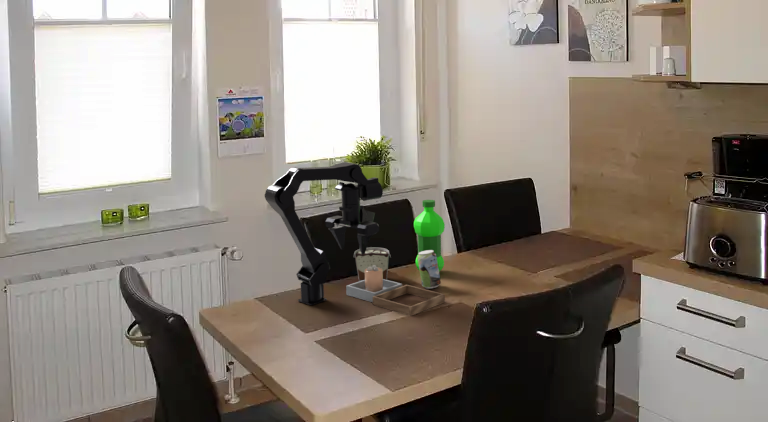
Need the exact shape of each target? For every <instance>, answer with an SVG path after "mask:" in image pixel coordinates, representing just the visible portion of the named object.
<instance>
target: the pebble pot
mask: <svg viewBox="0 0 768 422" xmlns="http://www.w3.org/2000/svg"><path fill="white" fill-rule="evenodd" d="M365 290H367V291H371V292H377V291H380V290H383V269H381V268H377V266H376V265H373V266H372V267H368V268H367V269H365Z"/></svg>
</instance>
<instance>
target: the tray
mask: <svg viewBox="0 0 768 422" xmlns="http://www.w3.org/2000/svg"><path fill="white" fill-rule="evenodd" d="M401 286H403V283H402V282H401V283H400V282H397V281H393V280H389V279H387V280H385V279H383V290H380V291H377V292H371V291H367V290H365V280H362V281H359V280H358V281H356V282H353V283H350V284H346V286H345V287H346V289H345V290H346V292H345V293H346V296H349V297H351V298H356V299H360V300H363V301H367V302H370V303H373V296H376V295H379V294H382V293H384V292H387V291H390V290H393V289H396V288H399V287H401Z"/></svg>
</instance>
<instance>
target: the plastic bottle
mask: <svg viewBox="0 0 768 422" xmlns="http://www.w3.org/2000/svg"><path fill="white" fill-rule="evenodd" d="M421 203H422V207H423V211H422V212H421V213H420V214H418V216H416V217H415V219H414V221H413V228H414V233H415V234H416V235H417V255H416V258H415V266H416V269H417V270H418V272H420V270H419V264H418V259H417V257H418V255H419V254H418V253H419V252H421V251H425V250H433V251H434V253H435V254H436V257H437V263H438V269H439V272H441V271H442V269H443V268H444V265H445V260H444V258H443V255H442V234H443V233H444V231H445V227H446V226H445V225H446V224H445V221H444V219H443V217H442V216H441V215H439V214H438V212H437V211H434V210H435V209H434V208H436V201H435V199H424V200H422V202H421Z"/></svg>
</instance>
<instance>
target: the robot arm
mask: <svg viewBox="0 0 768 422" xmlns="http://www.w3.org/2000/svg"><path fill="white" fill-rule="evenodd" d="M335 180H336V181H340V182H338V184H337V185H336V186H335V187H334V189H335V190H336V191H340V192H341V193H340V194H341V205H340V206H339V208H338V209H339V211H341V213H342V216H341V215H333V216H330V217H327V218H326V220H325V227H326V228H328V230H329V231H330V232H331V234H332V235H333V237H334V239H335V241H336V243H337V244H338V246H339V248H340V250H345V247H346V246H345V244H346V239H345V238H346V237H345V236H346V234H345V233H346V231H347V228H350V229H355V230H356V231H357V234H356V237H357V241H358V246H359V249H360V251H361V254H365V251H366V248H368V246H369V241H370V240H371V237H373V235H376V234H377V233H379V232H380V226H379V225H380V224H378V223H377V222H374V219H375V214H376V212H373V211H369V210H366V209H365V207H364V205H361V201H364V202H366V201H373V200H377V199H381V198H382V196H383V194H384V189H383V187H382V184H381V182H380V181H379V177H376V176H375V177H370V178H367V176H366V175H364V173H363V169H362V167H361V166H360V164H358V163H352V162H347V161H344V162H339V163H335V164H334V165H331V166H312V167H309V166H308V167H296V166H295V167H290V169H288V170H287V171H286V173H285V174H283V175H282V176H281V177H279V178H278V179H277V180H276V181H275V182H273V184H272V185H269V186H268V187H267V188H266V190H265V192H264V199H265V201H266V202H267V203H268V205H269V206H270V207H271V208H272V210H274V211H275V212H276V213H277V214H278V215H279V216H280V218H281V219H282V221H283V223H284V225H285V226H286V229H287V231H288V232H289V234H290V236H291V238H292V240H293V241H294V243H295V245H296V247H297V248H298V250H299V252H300V262H301V265H302V266H301V267H300V269H299V270H298V271H297V273H296V278H297V280H298V281H301V282H300V296H301V297H300V298H299V299H298V300H297V302H299V303H303V304H306V305H309V306H313V305H317V304H320V303H323V302H326V301H327V300H328V299H327V298H326V297H325V290H324V284H325V283H326V281H327V277H328V274H329V272H330V269H331V264H330V263H331V260H329V259H328V257H327V254H326V252H325V251H324V250H322V249H319V248H316V247H315V245H314V244H313V242H312V240H311V238H310V235H309V234H308V232H307V230H306V229H305V226H304V225H303V223H302V221H301V219H300V218H299V215H298V213H297V211H296V203H295V198H294V197H295V195H296V194H297V193H298V192H299V189H300V186H301V184H302V183H303V182H309V181H312V182H313V181H335ZM345 182H347V183H345Z"/></svg>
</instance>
